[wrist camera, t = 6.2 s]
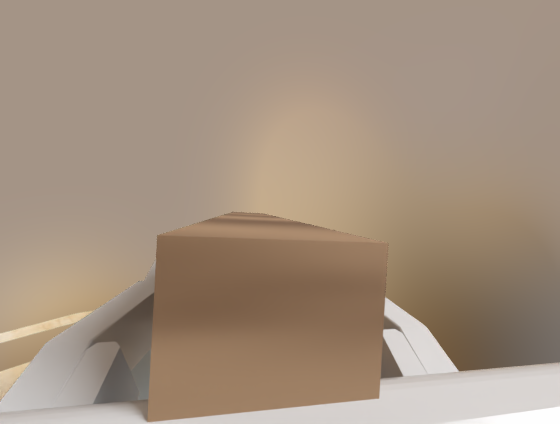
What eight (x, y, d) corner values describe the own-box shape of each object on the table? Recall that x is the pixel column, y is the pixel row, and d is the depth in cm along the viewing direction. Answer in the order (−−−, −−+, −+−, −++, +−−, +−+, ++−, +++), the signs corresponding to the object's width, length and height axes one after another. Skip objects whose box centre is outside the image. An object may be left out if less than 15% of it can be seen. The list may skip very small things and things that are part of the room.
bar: (374, 486, 4) (388, 243, 4) (140, 527, 3) (157, 235, 3) (261, 247, 25) (263, 213, 25) (230, 246, 25) (232, 211, 25)
